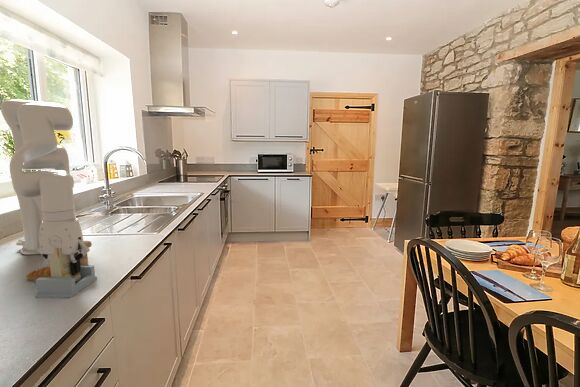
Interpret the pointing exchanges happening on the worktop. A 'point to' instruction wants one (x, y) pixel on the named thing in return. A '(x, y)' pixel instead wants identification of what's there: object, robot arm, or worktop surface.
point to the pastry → (39, 274)
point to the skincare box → (61, 265)
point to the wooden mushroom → (85, 259)
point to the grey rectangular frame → (64, 284)
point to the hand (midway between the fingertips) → (66, 272)
